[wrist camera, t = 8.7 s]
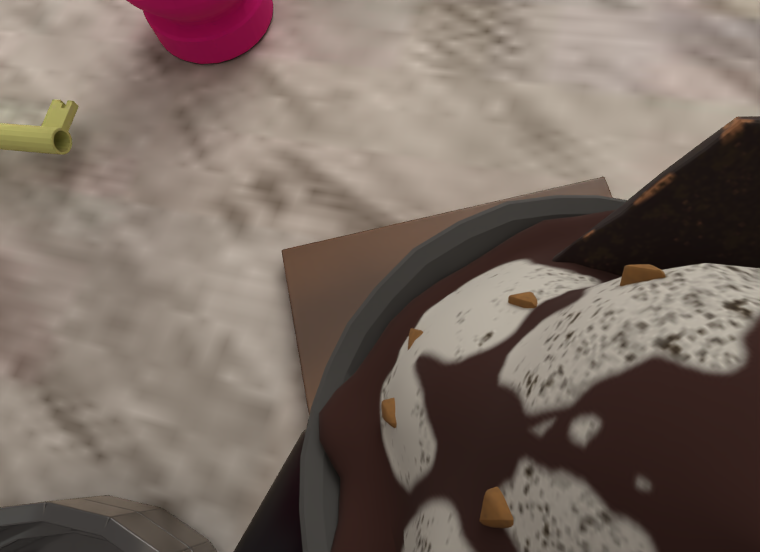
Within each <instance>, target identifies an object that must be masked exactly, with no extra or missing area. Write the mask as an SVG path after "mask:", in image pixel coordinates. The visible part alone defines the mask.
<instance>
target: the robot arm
mask: <svg viewBox="0 0 760 552" xmlns="http://www.w3.org/2000/svg"><path fill="white" fill-rule="evenodd" d="M305 433H306V430H305V431H303V432H302V434H301V436H300V437H299V439H298V441H297V443H296V444H295V446H294V448H293V450H292V451H291V453H290V455H289V456H288V458H287V460H286V462H285V463H284V465H283V467H282V469H281V470H280V472H279V474H278V476H277V477H276V479H275V481H274V483H273V484H272V486H271V488H270V489H269V491H268V493H267V495H266V496H265V498H264V500H263V502H262V503H261V505H260V507H259V509H258V510H257V512H256V514H255V516H254V517H253V519H252V521H251V523H250V524H249V526H248V528H247V529H246V531H245V533H244V535H243V536H242V538H241V540H240V542H239V543H238V545H237V547H236V549H235V550H234V552H303V547H302V536H301V525H300V513H299V496H300V456H301V452H302V447H303V442H304V438H305Z"/></svg>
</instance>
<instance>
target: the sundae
mask: <svg viewBox="0 0 760 552" xmlns="http://www.w3.org/2000/svg"><path fill="white" fill-rule="evenodd" d="M299 513H300V525H301V536H302V547H303V552H760V116H759V117H736V118H735V119H733V120H732V121H731V122H729V123H728V124H727V125H725V126H724V127H723V128H721V129H720V130H718V131H717V132H716V133H714V134H713V135H712V136H710V137H709V138H707V139H706V140H705V141H703V142H702V143H701V144H699V145H698V146H697V147H695V148H694V149H693V150H691V151H690V152H689V153H687V154H686V155H685V156H683V157H682V158H681V159H679V160H678V161H677V162H675V163H674V164H673V165H671V166H670V167H669V168H667V169H666V170H665V171H663V172H662V173H661V174H659V175H658V176H657V177H656V178H655V179H653V180H652V181H651V182H650V183H648V184H647V185H646V186H645V187H643V188H642V189H641V190H640V191H639V192H637V193H636V194H635V195H634V196H632V197H631V198H630V199H629V200H628V201H627V200H622V199H616V198H610V197H605V196H599V195H553V196H546V197H538V198H530V199H522V200H515V201H507V202H504V203H501V204H499V205H497V206H494V207H492V208H489V209H487V210H484V211H482V212H480V213H477V214H475V215H472V216H470V217H467V218H465V219H463V220H460V221H458V222H456V223H455V224H453V225H451V226H450V227H448V228H446V229H445V230H443V231H441V232H440V233H438V234H436V235H435V236H433V237H431V238H430V239H428V240H426V241H425V242H423V243H421V244H420V245H418V246H416V247H415V248H413V249H412V250H411V251H410V252H409V253H408V254H407V255H406V256H405V257H404V258H403V259H402V260H401V261H400V262H399V263H398V264H397V265H396V266H395V267H394V268H393V269H392V270H391V271H390V272H389V273H388V274H387V276H386V277H385V278H384V279H383V280H382V281H381V282H380V283H379V284H378V285H377V286H376V287H375V288H374V289H373V290H372V292H371V293H370V294H369V296H368V297H367V298H366V300H365V301H364V302H363V303H362V305H361V306H360V307H359V309H358V310H357V311H356V313H355V314H354V315H353V316H352V318H351V319H350V320H349V322H348V323H347V325H346V327H345V329H344V331H343V332H342V334H341V336H340V338H339V340H338V342H337V344H336V346H335V348H334V350H333V352H332V354H331V356H330V358H329V360H328V362H327V364H326V367H325V370H324V372H323V375H322V378H321V381H320V384H319V387H318V389H317V392H316V395H315V398H314V401H313V404H312V406H311V410H310V415H309V419H308V424H307V429H306V433H305V438H304V442H303V447H302V452H301V456H300V496H299Z"/></svg>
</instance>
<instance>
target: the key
mask: <svg viewBox="0 0 760 552" xmlns="http://www.w3.org/2000/svg"><path fill="white" fill-rule="evenodd" d="M78 107H79V106H78V105H77V104H76V103H75V102H74V101H67V104H66V105H65V104H64V103H63V102H62V101H61V100H52V103H51V105H50V107H49V110H48V112H47V114H46V116H45V119H44V121H43V123H42V126H30V125H17V124H3V123H0V149H4V150H16V151H27V152H39V153H50V154H66V153H68V152H69V151H70V149H71V146H72V138H71V136H70V133H69V132H68V131H69V128H70V126H71V124H72V121H73V119H74V116H75V114H76V112H77V109H78Z"/></svg>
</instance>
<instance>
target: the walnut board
mask: <svg viewBox="0 0 760 552" xmlns="http://www.w3.org/2000/svg"><path fill="white" fill-rule="evenodd" d="M553 195H599V196H605V197H610V198H613V197H612V195H611V192H610V190H609V187H608V185H607V182H606V180H605V177H600V178H596V179H592V180H587V181H583V182H578V183H574V184H570V185H565V186H561V187H556V188H552V189H548V190H543V191H539V192H534V193H530V194H526V195H521V196H517V197H512V198H508V199H504V200H499V201H495V202H491V203H486V204H482V205H477V206H473V207H469V208H464V209H460V210H455V211H451V212H447V213H442V214H438V215H433V216H429V217H425V218H420V219H416V220H411V221H407V222H403V223H398V224H394V225H389V226H385V227H381V228H376V229H372V230H367V231H363V232H359V233H354V234H350V235H345V236H341V237H337V238H332V239H328V240H324V241H319V242H315V243H310V244H306V245H302V246H297V247H293V248H288V249H284V250H282V256H283V262H284V268H285V274H286V280H287V286H288V292H289V298H290V304H291V310H292V316H293V322H294V328H295V334H296V340H297V346H298V352H299V358H300V364H301V370H302V376H303V382H304V388H305V394H306V400H307V406H308V412H309V415H310V410H311V406H312V404H313V401H314V398H315V395H316V392H317V389H318V387H319V384H320V381H321V378H322V375H323V372H324V370H325V367H326V364H327V362H328V360H329V358H330V356H331V354H332V352H333V350H334V348H335V346H336V344H337V342H338V340H339V338H340V336H341V334H342V332H343V331H344V329H345V327H346V325H347V323H348V322H349V320H350V319H351V318H352V316H353V315H354V314H355V313H356V311H357V310H358V309H359V307H360V306H361V305H362V303H363V302H364V301H365V300H366V298H367V297H368V296H369V294H370V293H371V292H372V290H373V289H374V288H375V287H376V286H377V285H378V284H379V283H380V282H381V281H382V280H383V279H384V278H385V277H386V276H387V274H388V273H389V272H390V271H391V270H392V269H393V268H394V267H395V266H396V265H397V264H398V263H399V262H400V261H401V260H402V259H403V258H404V257H405V256H406V255H407V254H408V253H409V252H410V251H411V250H412V249H413V248H415V247H416V246H418V245H420V244H421V243H423V242H425V241H426V240H428V239H430V238H431V237H433V236H435V235H436V234H438V233H440V232H441V231H443V230H445V229H446V228H448V227H450V226H451V225H453V224H455V223H456V222H458V221H460V220H463V219H465V218H467V217H470V216H472V215H475V214H477V213H480V212H482V211H484V210H487V209H489V208H492V207H494V206H497V205H499V204H501V203H504V202H507V201H515V200H522V199H530V198H538V197H546V196H553Z"/></svg>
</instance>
